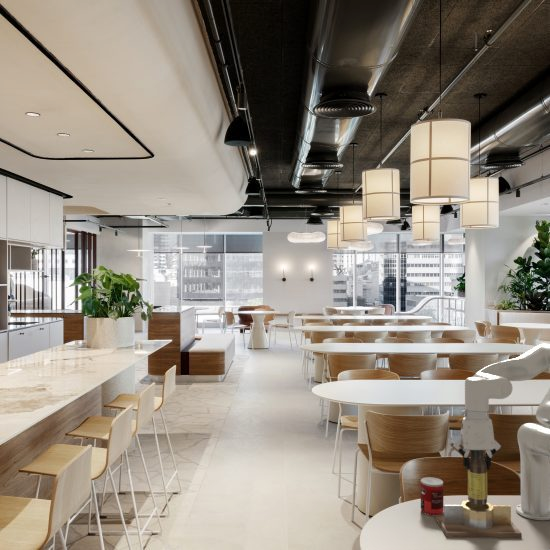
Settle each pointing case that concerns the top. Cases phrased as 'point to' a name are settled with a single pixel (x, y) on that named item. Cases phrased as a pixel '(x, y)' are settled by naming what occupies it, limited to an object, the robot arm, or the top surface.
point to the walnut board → (464, 531)
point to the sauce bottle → (477, 478)
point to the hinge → (477, 515)
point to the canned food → (431, 495)
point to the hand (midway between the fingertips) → (476, 467)
